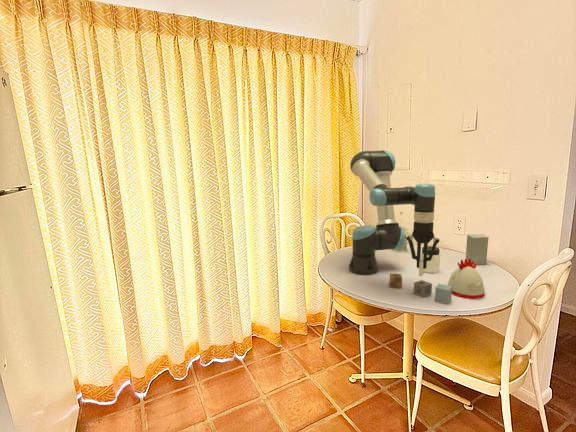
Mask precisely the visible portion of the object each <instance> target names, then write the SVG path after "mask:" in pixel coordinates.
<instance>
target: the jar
mask: <svg viewBox="0 0 576 432" xmlns="http://www.w3.org/2000/svg"><path fill="white" fill-rule="evenodd" d="M432 246H433V245H432ZM432 246H431V245H428V249H427V257H429V255H430V252H431V249H432ZM440 252H441V251H440V248H439V247H437V246H436V247H435V250H434V253H433V256H432V259H431V261H427V267H426V269H424V271H423V273H427V274H436V273H439V272H440V266H441V265H440V263H441V254H440ZM423 256H424V246H421V256H420V260H423Z"/></svg>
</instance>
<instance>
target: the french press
mask: <svg viewBox="0 0 576 432" xmlns="http://www.w3.org/2000/svg"><path fill="white" fill-rule="evenodd" d="M399 214H400V215H403V214H404V211H399ZM401 227H402V228H403V230H404V232H405V240H404V243H403V245H402V247H400V248H398V249H391V251H392V252H395V253H401V254H403V253H407V252H409V250H408V249H407V248H408V247H407V245H409V242H408V240H407V239H406V238H407V236H408V234H409V232H407V231H408V229H407V227H404V226H401Z"/></svg>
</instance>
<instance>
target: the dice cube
mask: <svg viewBox="0 0 576 432" xmlns="http://www.w3.org/2000/svg"><path fill="white" fill-rule="evenodd" d="M432 290H433V283H431V282H428V281H425V280H423V279H420V280H417V281H414V283H413V294H414V295H417V296H419V297H421V298H427V297H429V296H431V295H432V293H433V292H432Z"/></svg>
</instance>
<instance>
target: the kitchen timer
mask: <svg viewBox="0 0 576 432" xmlns="http://www.w3.org/2000/svg"><path fill="white" fill-rule="evenodd" d="M473 264H474V261H472V262H471V260H470V259H468V262H467V259H466V258H464V260H463V259H460V262H457V266H458V268H456V269H455V270H454V271H453V272H452V273H451V275H450V277H449V279H448V283H447V285H448V286H452V295H453V296H454V297H458V298H461V297H462V298H461V299H467V298H468V299H467V300H480V299H483V298H484V297H485V285H484V280H483V279H482V276H481V275H480V273H479V272H478V271H477V270H476V267H477V266H478V264H476V263H475V264H474V265H473Z"/></svg>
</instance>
